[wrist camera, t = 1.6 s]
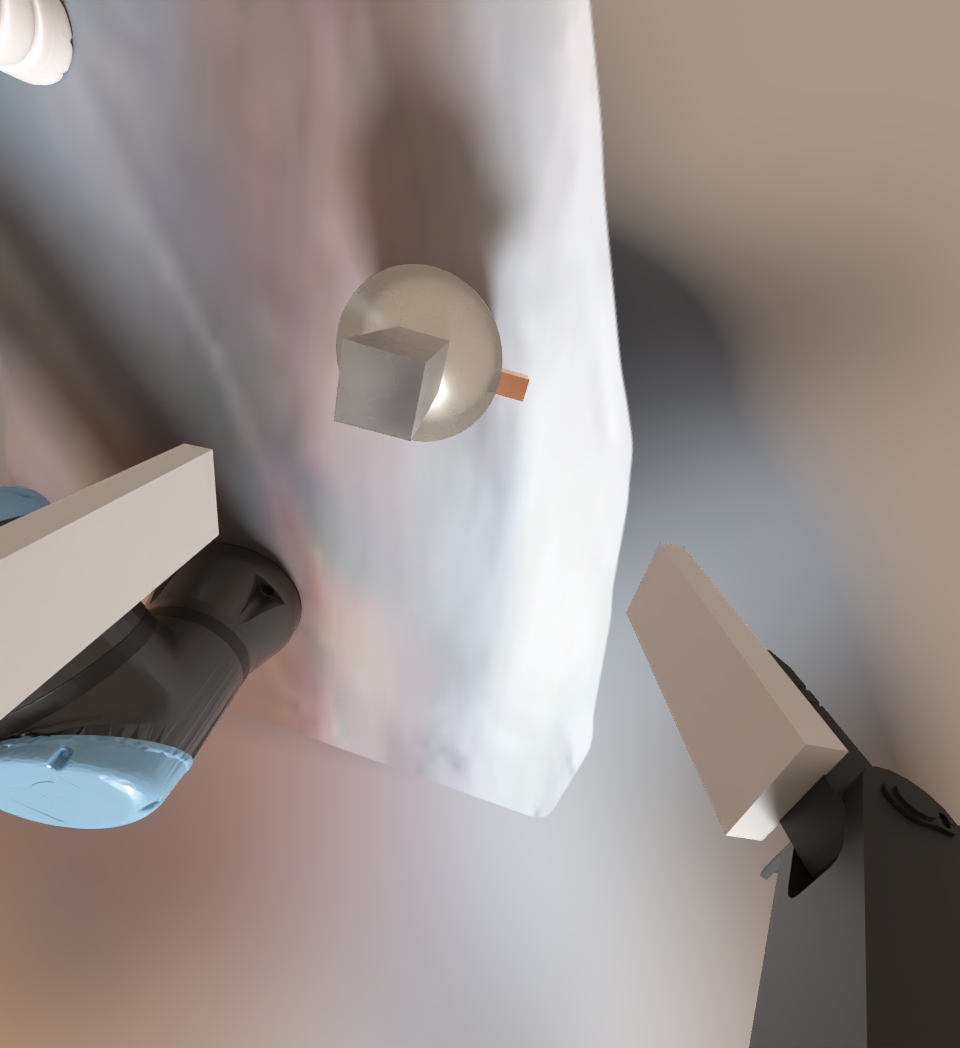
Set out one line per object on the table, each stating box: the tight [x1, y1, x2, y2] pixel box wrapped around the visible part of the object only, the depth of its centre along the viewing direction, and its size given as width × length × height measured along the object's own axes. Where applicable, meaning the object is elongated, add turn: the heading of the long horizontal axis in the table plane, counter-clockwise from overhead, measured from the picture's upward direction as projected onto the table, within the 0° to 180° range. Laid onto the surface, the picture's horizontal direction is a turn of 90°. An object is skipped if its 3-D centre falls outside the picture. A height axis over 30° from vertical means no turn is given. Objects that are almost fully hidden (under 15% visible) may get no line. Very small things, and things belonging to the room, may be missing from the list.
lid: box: [334, 264, 529, 442], centre depth 23 cm, size 12×10×14 cm
